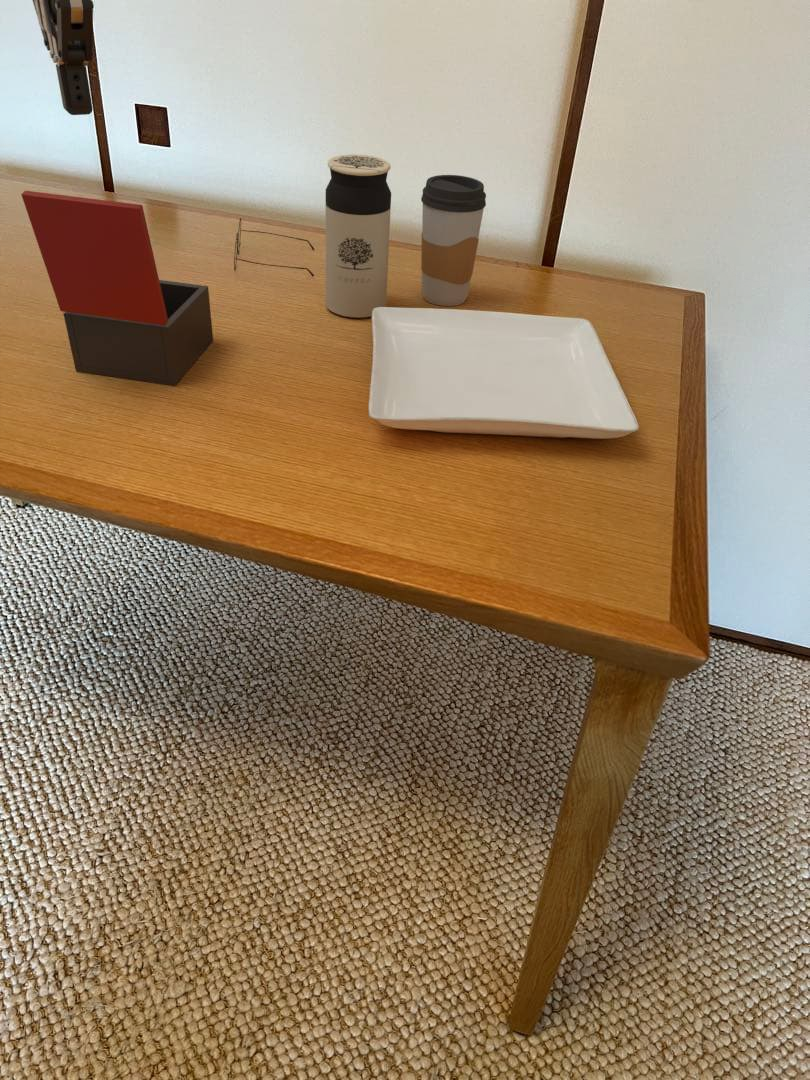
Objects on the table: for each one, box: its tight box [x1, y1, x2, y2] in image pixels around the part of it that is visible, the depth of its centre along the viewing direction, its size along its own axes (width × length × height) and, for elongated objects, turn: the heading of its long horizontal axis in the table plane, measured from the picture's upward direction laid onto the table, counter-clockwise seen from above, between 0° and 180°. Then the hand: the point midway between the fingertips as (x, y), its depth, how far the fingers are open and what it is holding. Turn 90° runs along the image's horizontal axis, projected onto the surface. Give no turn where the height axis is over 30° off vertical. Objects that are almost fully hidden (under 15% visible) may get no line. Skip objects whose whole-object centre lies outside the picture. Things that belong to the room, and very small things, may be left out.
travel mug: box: [325, 154, 392, 319], centre depth 102 cm, size 8×8×18 cm
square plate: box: [368, 306, 640, 440], centre depth 91 cm, size 27×27×4 cm
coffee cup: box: [420, 174, 487, 307], centre depth 107 cm, size 8×8×15 cm
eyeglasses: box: [233, 217, 315, 277], centre depth 117 cm, size 11×13×5 cm
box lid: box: [20, 190, 168, 326], centre depth 80 cm, size 13×12×1 cm
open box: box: [63, 279, 214, 387], centre depth 92 cm, size 12×12×7 cm
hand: (78, 112), depth 72 cm, fingers closed
